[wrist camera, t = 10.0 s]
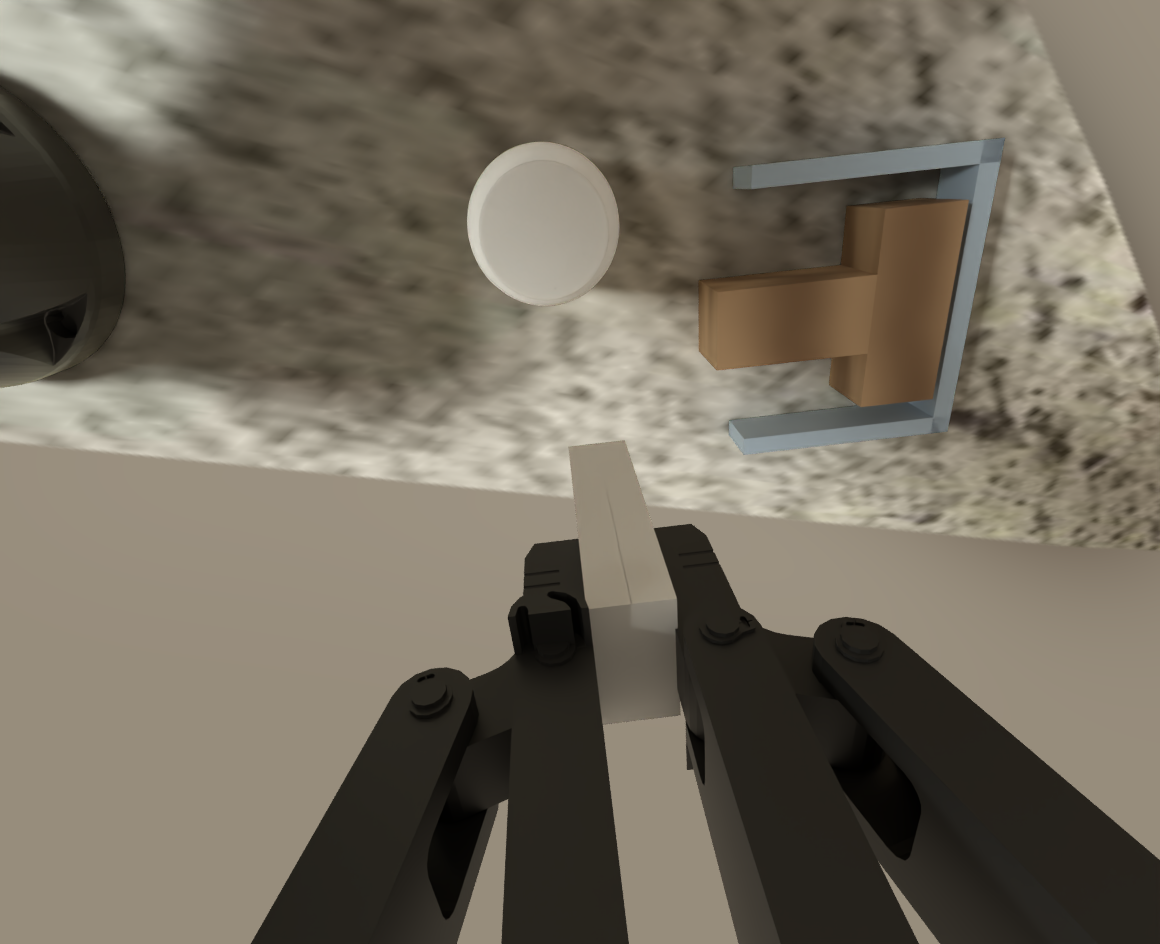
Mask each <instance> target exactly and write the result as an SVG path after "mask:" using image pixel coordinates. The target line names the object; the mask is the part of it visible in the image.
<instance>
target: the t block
mask: <svg viewBox="0 0 1160 944" xmlns="http://www.w3.org/2000/svg"><path fill="white" fill-rule="evenodd" d="M968 203H969V200H961V199H934V198H916V199H907V200H897V201H888V202H879V203H870V204H860V205H851V206H847V207H846V217H845V227H844V237H843V247H842V258H841V265H835V266H825V267H816V268H807V269H798V270H789V271H780V272H770V273H761V274H752V275H743V276H734V277H725V278H716V279H706V280H698V292H699V352H700V353H701V354H702V355H703V356H704V357H705V358H706V359H707V360H708V361H709V362H710V364H711V365H712V366H713V367H714V368H715V369H716V370H725V369H734V368H743V367H752V366H761V365H770V364H779V363H788V362H797V361H806V360H815V359H824V358H832V360H831V370H830V380H829V385H830V386H831V387H833V388H834V389H835V390H837V391H838V392H840V393H841V394H843V395H844V396H845V397H847V398H848V399H850V400H851V401H853V402H854V403H855V404H857V405H858V406H860V407H867V406H876V405H885V404H894V403H903V402H912V401H921V400H930V399H933V394H934V389H935V383H936V378H937V372H938V367H939V361H940V356H941V351H942V345H943V340H944V334H945V329H946V323H947V318H948V312H949V307H950V301H951V296H952V290H953V285H954V279H955V274H956V268H957V263H958V258H959V252H960V247H961V241H962V236H963V230H964V225H965V219H966V214H967V208H968Z"/></svg>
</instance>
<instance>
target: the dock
mask: <svg viewBox="0 0 1160 944" xmlns="http://www.w3.org/2000/svg"><path fill="white" fill-rule="evenodd" d="M1004 141H1005V138H996V139H986V140H976V141H966V142H957V143H948V144H939V145H930V146H921V147H912V148H903V149H894V150H885V151H876V152H867V153H858V154H849V155H840V156H831V157H822V158H813V159H804V160H795V161H786V162H777V163H768V164H758V165H749V166H740V167H733V189H758V188H767V187H776V186H785V185H794V184H803V183H812V182H821V181H830V180H839V179H848V178H857V177H866V176H875V175H884V174H893V173H902V172H911V171H920V170H929V169H938V168H941V171H940V178H939V184H938V190H937V197H936V199H961V200H969V203H968V208H967V214H966V219H965V225H964V230H963V236H962V241H961V247H960V252H959V258H958V263H957V268H956V274H955V279H954V285H953V290H952V296H951V301H950V307H949V312H948V318H947V323H946V329H945V334H944V340H943V345H942V351H941V356H940V361H939V367H938V372H937V378H936V383H935V389H934V394H933V399H930V400H921V401H912V402H903V403H894V404H885V405H876V406H867V407H860V406H850V407H841V408H832V409H824V410H815V411H806V412H797V413H788V414H780V415H771V416H762V417H753V418H745V419H736V420H729V436H730V437H731V438H732V440H733V441H734V442H735V444H736V445H737V446H738V448H739V449H740V451H741V452H742V453H743V455H747V454H755V453H764V452H773V451H782V450H790V449H799V448H808V447H817V446H825V445H834V444H843V443H852V442H860V441H869V440H878V439H887V438H895V437H904V436H913V435H921V434H930V433H939V432H947V431H948V426H949V421H950V416H951V410H952V405H953V400H954V395H955V390H956V385H957V380H958V375H959V370H960V365H961V360H962V355H963V349H964V344H965V339H966V334H967V329H968V324H969V319H970V314H971V309H972V304H973V299H974V294H975V289H976V283H977V278H978V273H979V268H980V263H981V258H982V253H983V248H984V243H985V238H986V233H987V228H988V222H989V217H990V212H991V207H992V202H993V197H994V192H995V187H996V182H997V177H998V172H999V167H1000V161H1001V156H1002V151H1003V146H1004Z"/></svg>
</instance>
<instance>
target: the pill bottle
mask: <svg viewBox="0 0 1160 944" xmlns="http://www.w3.org/2000/svg"><path fill="white" fill-rule="evenodd" d="M467 229H468V237H469V241H470V245H471V249H472V252H473V254H474V257H475V259H476V261H477V263H478V265H479V267H480V268H481V270H482V271H483V273H484V274H485V275H486V277H487V278H488V279H489V280H490V281H491V282H492V283H493V284H494V285H495V286H496V287H497V288H499V289H500V290H501V291H503V292H504V293H505V294H506V295H508V296H510V297H512V298H514V299H516V300H518V301H521V302H524V303H527V304H531V305H537V306H553V305H559V304H564V303H567V302H570V301H572V300H575V299H577V298H579V297H581V296H582V295H584V294H585V293H587V292H588V291H589V290H591V289H592V288H593V287H594V286H595V285H596V284H597V283H598V282H599V281H600V279H601V278H602V277H603V276H604V274H605V273H606V271H607V270H608V268H609V266H610V264H611V262H612V260H613V257H614V255H615V252H616V248H617V244H618V239H619V214H618V208H617V204H616V200H615V197H614V194H613V192H612V189H611V187H610V185H609V183H608V182H607V180H606V178H605V177H604V175H603V174H602V173H601V171H600V170H599V169H598V168H597V167H596V166H595V165H594V164H593V163H592V162H591V161H590V160H589V159H588V158H587V157H585V156H584V155H583V154H581V153H579V152H578V151H576V150H574V149H572V148H569V147H567V146H564V145H561V144H558V143H552V142H530V143H526V144H521V145H518V146H516V147H513V148H511V149H509V150H507V151H505V152H504V153H502V154H501V155H499V156H498V157H497V158H495V159H494V160H493V161H492V162H491V163H490V164H489V165H488V166H487V168H486V169H485V170H484V171H483V173H482V174H481V176H480V177H479V179H478V181H477V183H476V185H475V187H474V189H473V192H472V194H471V198H470V201H469V206H468V214H467Z"/></svg>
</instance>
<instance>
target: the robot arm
mask: <svg viewBox="0 0 1160 944" xmlns="http://www.w3.org/2000/svg"><path fill="white" fill-rule="evenodd" d="M124 290H125V267H124V259H123V252H122V247H121V243H120V239H119V236H118V232H117V229H116V226H115V223H114V221H113V218H112V216H111V213H110V211H109V209H108V207H107V204H106V202H105V200H104V198H103V196H102V194H101V193H100V191H99V189H98V187H97V186H96V184H95V182H94V181H93V179H92V177H91V176H90V174H89V173H88V171H87V170H86V168H85V167H84V165H83V164H82V163H81V161H80V160H79V159H78V157H77V156H76V155H75V153H74V152H73V151H72V150H71V149H70V147H69V146H68V145H67V144H66V143H65V142H64V140H63V139H62V138H61V137H60V136H59V135H58V134H57V133H56V132H55V131H54V130H53V129H52V128H51V127H50V126H49V125H48V124H47V123H46V122H45V121H44V120H43V119H42V118H41V117H40V116H38V115H37V114H36V113H35V112H34V111H33V110H31V109H30V108H29V107H28V106H27V105H25V104H24V103H23V102H21V101H20V100H19V99H18V98H16V97H15V96H13V95H12V94H11V93H9V92H8V91H6V90H5V89H3V88H2V87H0V388H3V387H10V386H16V385H22V384H26V383H30V382H34V381H37V380H40V379H42V378H45V377H48V376H50V375H53V374H55V373H58V372H61V371H63V370H66V369H68V368H70V367H73V366H75V365H77V364H79V363H80V362H82V361H84V360H85V359H87V358H88V357H90V356H91V355H92V354H93V353H94V352H96V351H97V350H98V349H99V348H100V347H101V346H102V344H103V343H104V342H105V341H106V339H107V338H108V337H109V335H110V334H111V332H112V330H113V328H114V326H115V324H116V322H117V320H118V317H119V314H120V311H121V308H122V304H123V298H124ZM569 456H570V465H571V474H572V484H573V493H574V502H575V511H576V519H577V529H578V538H579V539H572V540H564V541H556V542H548V543H539V544H534V546H533V547H532V548H531V550H530V551H529V553H528V554H527V556H526V558H525V567H524V592H523V596H522V597H520V598H519V599H518V600H517V601H516V602H515V603H514V604H513V606H511V609H510V612H509V615H508V621H509V627H510V631H511V636H512V641H513V646H514V652H515V654H514V655H513V656H512V657H511V658H510V659H509V660H508V661H507V662H506V663H504V664H503V665H502V666H500V667H499V668H497V669H495V670H493V671H491V672H488V673H486V674H484V675H481V676H478V677H476V678H473V679H470V680H469V678H468V677H467V676H466V675H464V674H463V673H462V672H461V671H459V670H455V669H451V668H435V669H429V670H427V671H424V672H422V673H419V674H416V675H414V676H413V677H412V678H410V679H409V680H407V681H406V682H404V683H403V684H402V685H401V686H400V687H399V688H398V690H397V691H396V692H395V693H394V695H393V696H392V697H391V699H390V701H389V703H388V705H387V707H386V708H385V710H384V712H383V713H382V715H381V717H380V719H379V720H378V722H377V724H376V726H375V727H374V729H373V731H372V733H371V734H370V736H369V738H368V740H367V741H366V743H365V745H364V747H363V748H362V750H361V752H360V754H359V755H358V757H357V759H356V761H355V762H354V764H353V766H352V768H351V769H350V771H349V773H348V775H347V776H346V778H345V780H344V782H343V783H342V785H341V787H340V789H339V790H338V792H337V794H336V796H335V797H334V799H333V801H332V803H331V804H330V806H329V808H328V810H327V811H326V813H325V815H324V817H323V818H322V820H321V822H320V824H319V826H318V827H317V829H316V831H315V833H314V834H313V836H312V838H311V839H310V841H309V843H308V845H307V846H306V848H305V850H304V852H303V853H302V855H301V857H300V859H299V860H298V862H297V864H296V866H295V867H294V869H293V871H292V873H291V874H290V876H289V878H288V880H287V881H286V883H285V885H284V887H283V888H282V890H281V892H280V894H279V895H278V897H277V899H276V901H275V902H274V904H273V906H272V908H271V909H270V911H269V913H268V915H267V917H266V918H265V920H264V922H263V923H262V925H261V927H260V929H259V930H258V932H257V934H256V936H255V938H254V939H253V941H252V943H251V944H457V941H458V938H459V935H460V931H461V928H462V925H463V922H464V918H465V915H466V912H467V908H468V905H469V902H470V899H471V895H472V892H473V889H474V886H475V882H476V879H477V876H478V873H479V869H480V866H481V863H482V860H483V856H484V853H485V850H486V846H487V843H488V840H489V837H490V834H491V830H492V827H493V824H494V821H495V817H496V814H497V811H498V804H499V803H500V802H502V801H504V800H507V799H508V818H507V839H506V840H507V841H506V860H505V881H504V903H503V924H502V944H629V941H628V933H627V925H626V916H625V908H624V900H623V891H622V883H621V876H620V875H621V874H620V866H619V858H618V850H617V841H616V833H615V825H614V817H613V807H612V799H611V791H610V782H609V774H608V766H607V757H606V749H605V742H604V732H603V724H612V723H620V722H629V721H636V720H645V719H654V718H662V717H669V716H678V715H680V701H681V705H682V708H683V712H684V716H685V719H686V753H687V770H691V769H694V773H695V777H696V781H697V785H698V788H699V792H700V796H701V800H702V804H703V808H704V811H705V816H706V819H707V823H708V827H709V831H710V835H711V839H712V843H713V846H714V850H715V854H716V858H717V862H718V866H719V870H720V873H721V877H722V881H723V885H724V889H725V893H726V896H727V900H728V904H729V908H730V912H731V916H732V920H733V924H734V927H735V931H736V935H737V939H738V943H739V944H919V943H918V941H917V939H916V937H915V935H914V933H913V931H912V929H911V927H910V925H909V923H908V921H907V919H906V917H905V915H904V913H903V911H902V909H901V907H900V905H899V903H898V901H897V899H896V897H895V895H894V893H893V891H892V889H891V887H890V885H889V883H888V880H887V879H886V876H885V874H884V872H883V871H882V868H881V866H880V864H881V865H882V867H883V868H884V869H885V871H886V872H887V873H888V875H889V876H890V877H891V879H892V880H893V881H894V883H895V884H896V885H897V887H898V888H899V889H900V891H901V892H902V893H903V895H904V896H905V897H906V899H907V900H908V901H909V903H910V904H911V905H912V907H913V908H914V909H915V911H916V912H917V913H918V915H919V916H920V917H921V919H922V920H923V921H924V923H925V924H926V925H927V927H928V928H929V929H930V931H931V932H932V933H933V935H934V936H935V937H936V939H937V940H938V941H939V943H940V944H1160V860H1159V859H1158V858H1157V857H1155V856H1154V855H1153V854H1152V853H1151V852H1150V851H1148V850H1147V849H1146V848H1145V847H1144V846H1143V845H1141V844H1140V843H1139V842H1138V841H1137V840H1135V839H1134V838H1133V837H1132V836H1131V835H1129V834H1128V833H1127V832H1126V831H1125V830H1124V829H1122V828H1121V827H1120V826H1119V825H1118V824H1117V823H1115V822H1114V821H1113V820H1112V819H1111V818H1110V817H1108V816H1107V815H1106V814H1105V813H1104V812H1103V811H1101V810H1100V809H1099V808H1098V807H1097V806H1095V805H1094V804H1093V803H1092V802H1091V801H1090V800H1088V799H1087V798H1086V797H1085V796H1084V795H1083V794H1081V793H1080V792H1079V791H1078V790H1077V789H1075V788H1074V787H1073V786H1072V785H1071V784H1070V783H1068V782H1067V781H1066V780H1065V779H1064V778H1063V777H1061V776H1060V775H1059V774H1058V773H1057V772H1055V771H1054V770H1053V769H1052V768H1051V767H1050V766H1048V765H1047V764H1046V763H1045V762H1044V761H1042V760H1041V759H1040V758H1039V757H1038V756H1037V755H1035V754H1034V753H1033V752H1032V751H1031V750H1030V749H1028V748H1027V747H1026V746H1025V745H1024V744H1023V743H1021V742H1020V741H1019V740H1018V739H1017V738H1015V737H1014V736H1013V735H1012V734H1011V733H1010V732H1008V731H1007V730H1006V729H1005V728H1004V727H1003V726H1001V725H1000V724H999V723H998V722H997V721H995V720H994V719H993V718H992V717H991V716H990V715H988V714H987V713H986V712H985V711H984V710H982V709H981V708H980V707H979V706H978V705H977V704H975V703H974V702H973V701H972V700H971V699H970V698H968V697H967V696H966V695H965V694H964V693H963V692H961V691H960V690H959V689H958V688H957V687H955V686H954V685H953V684H952V683H951V682H950V681H948V680H947V679H946V678H945V677H944V676H943V675H941V674H940V673H939V672H938V671H937V670H935V669H934V668H933V667H932V666H931V665H930V664H928V663H927V662H926V661H925V660H924V659H922V658H921V657H920V656H919V655H918V654H917V653H915V652H914V651H913V650H912V649H911V648H910V647H908V646H907V645H906V644H905V643H904V642H902V641H901V640H900V639H899V638H898V637H896V636H895V635H894V634H893V633H891V632H890V631H888V630H887V629H885V628H884V627H882V626H880V625H879V624H876V623H873V622H870V621H867V620H864V619H859V618H849V617H842V618H836V619H830V620H829V621H827V622H825V623H823V624H821V625H820V626H819V627H818V629H817V630H816V632H815V634H814V638H810V637H801V636H793V635H786V634H780V633H775V632H772V631H770V630H767V629H764V628H762V626H761V624H760V623H759V622H758V621H757V620H756V618H755V617H754V616H753V615H751V614H750V613H748V612H746V611H745V610H743V609H741V608H740V606H739V604H738V602H737V599H736V597H735V595H734V593H733V591H732V589H731V587H730V585H729V582H728V580H727V578H726V576H725V574H724V572H723V570H722V568H721V566H720V565H719V561H718V559H717V557H716V555H715V553H713V549H712V547H711V544H710V542H709V540H708V538H707V536H706V535H705V534H704V533H703V532H701V531H700V530H698V529H697V528H696V527H695V526H693V525H692V524H686V525H677V526H669V527H660V528H653V525H652V522H651V519H650V515H649V512H648V509H647V506H646V503H645V500H644V497H643V494H642V491H641V488H640V485H639V482H638V479H637V476H636V473H635V470H634V467H633V464H632V461H631V458H630V455H629V452H628V449H627V446H626V443H625V440H623V441H614V442H606V443H597V444H588V445H580V446H571V447H569ZM878 861H879V862H878ZM879 863H880V864H879Z"/></svg>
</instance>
